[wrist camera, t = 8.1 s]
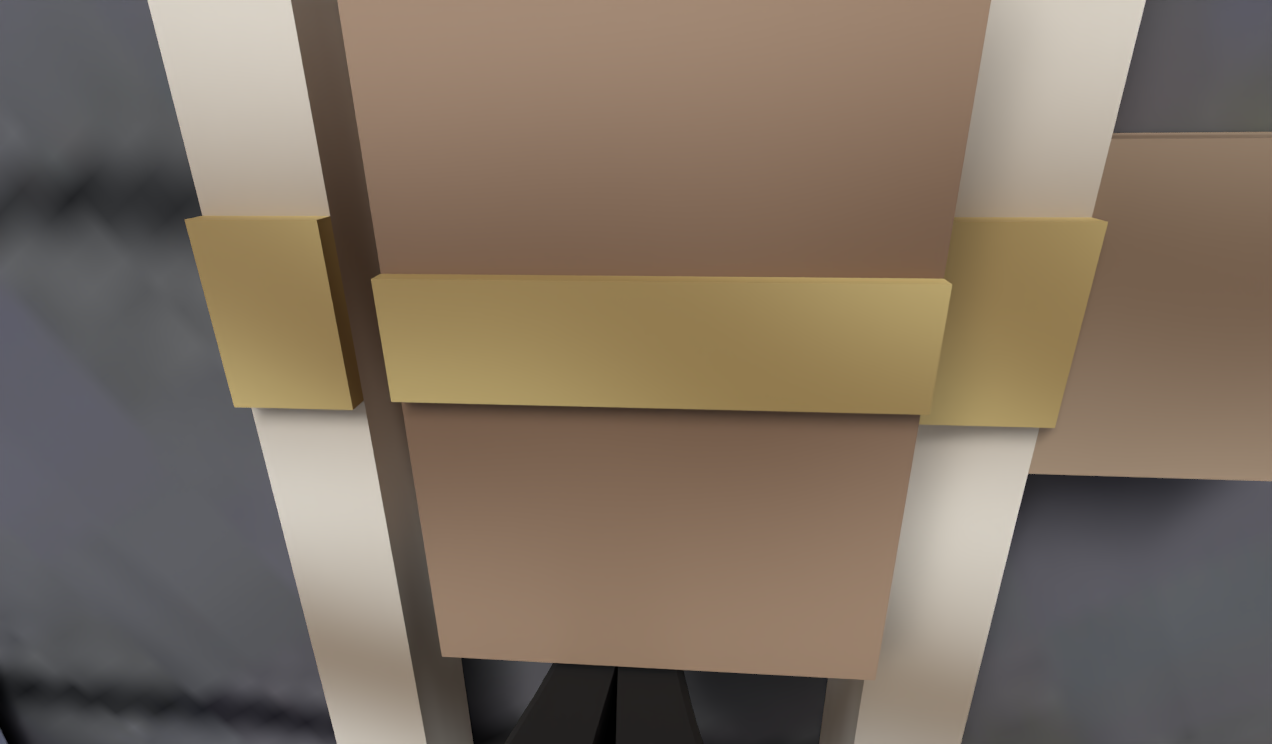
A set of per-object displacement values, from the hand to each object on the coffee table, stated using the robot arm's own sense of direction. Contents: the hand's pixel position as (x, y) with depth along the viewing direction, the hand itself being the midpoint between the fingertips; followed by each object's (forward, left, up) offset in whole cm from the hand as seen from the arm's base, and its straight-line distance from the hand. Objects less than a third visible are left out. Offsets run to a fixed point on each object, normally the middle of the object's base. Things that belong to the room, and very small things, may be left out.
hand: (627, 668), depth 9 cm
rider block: (+5, 0, -3) cm, 6 cm away
